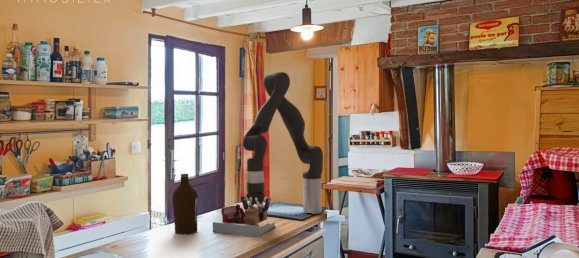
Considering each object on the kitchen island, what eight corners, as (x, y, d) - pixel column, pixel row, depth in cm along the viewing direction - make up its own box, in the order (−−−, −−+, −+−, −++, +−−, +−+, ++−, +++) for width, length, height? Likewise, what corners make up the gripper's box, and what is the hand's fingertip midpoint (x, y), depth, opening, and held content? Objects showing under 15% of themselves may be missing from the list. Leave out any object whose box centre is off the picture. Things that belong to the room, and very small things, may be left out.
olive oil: (174, 236, 192) (172, 176, 191) (172, 229, 202) (171, 173, 201) (200, 233, 195) (198, 175, 194) (197, 227, 205) (195, 171, 204)
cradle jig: (232, 222, 214) (232, 213, 213) (274, 226, 205) (274, 217, 205) (212, 231, 199) (212, 222, 198) (257, 236, 190) (256, 226, 190)
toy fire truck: (250, 227, 205) (249, 204, 204) (227, 233, 196) (226, 208, 195) (240, 224, 210) (240, 201, 209) (218, 230, 201) (217, 206, 201)
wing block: (258, 217, 206) (258, 204, 206) (267, 218, 205) (267, 205, 204) (245, 224, 195) (244, 210, 195) (254, 225, 194) (254, 211, 193)
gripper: (274, 180, 199) (274, 219, 200) (245, 178, 205) (246, 216, 206) (266, 183, 193) (266, 223, 193) (236, 181, 198) (237, 220, 199)
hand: (256, 220), depth 200 cm, fingers closed on wing block, 4 cm apart
